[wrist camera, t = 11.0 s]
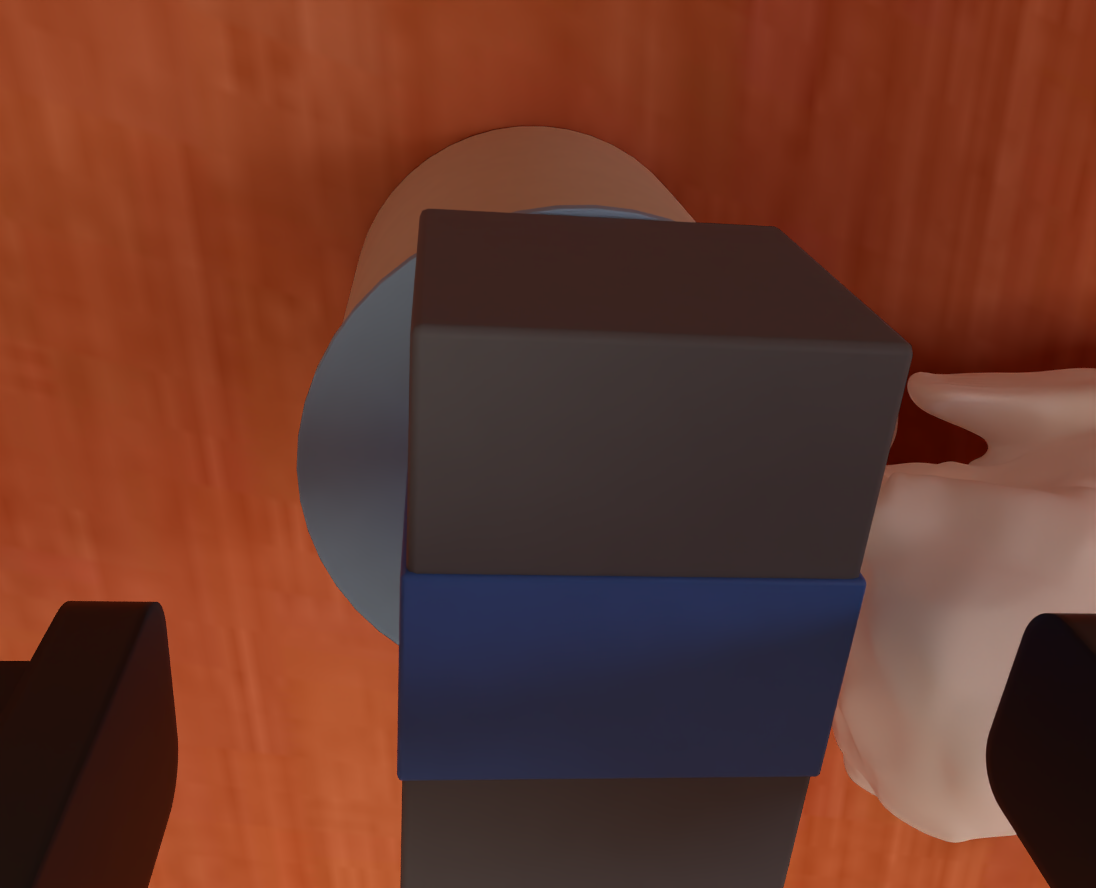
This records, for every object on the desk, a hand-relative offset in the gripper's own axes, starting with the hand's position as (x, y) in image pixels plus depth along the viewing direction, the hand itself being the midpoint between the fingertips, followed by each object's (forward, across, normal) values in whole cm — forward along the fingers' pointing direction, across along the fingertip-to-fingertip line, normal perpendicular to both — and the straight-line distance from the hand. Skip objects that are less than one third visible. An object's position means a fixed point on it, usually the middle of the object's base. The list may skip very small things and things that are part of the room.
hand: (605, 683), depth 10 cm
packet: (+4, 0, 0) cm, 4 cm away
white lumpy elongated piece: (+11, -10, +3) cm, 16 cm away
